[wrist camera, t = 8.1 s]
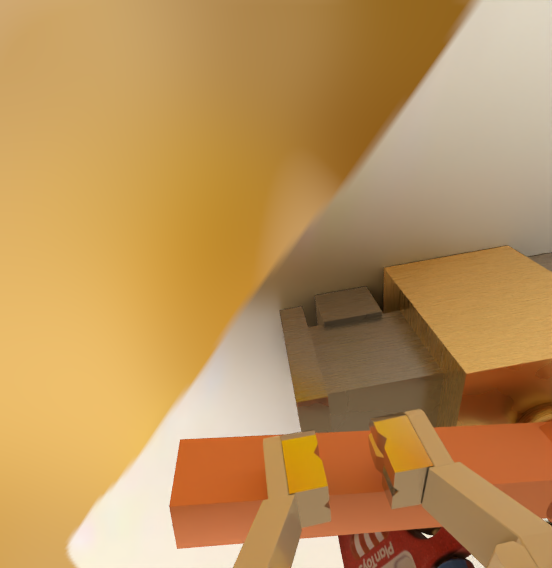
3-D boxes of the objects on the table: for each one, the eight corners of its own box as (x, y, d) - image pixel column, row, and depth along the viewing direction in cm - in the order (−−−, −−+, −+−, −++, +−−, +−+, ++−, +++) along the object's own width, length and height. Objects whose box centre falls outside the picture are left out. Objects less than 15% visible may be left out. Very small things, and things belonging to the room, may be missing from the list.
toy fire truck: (459, 411, 26) (573, 581, 17) (358, 494, 31) (407, 659, 22) (394, 382, 24) (487, 561, 15) (296, 477, 29) (322, 655, 20)
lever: (635, 403, 12) (700, 455, 11) (579, 469, 14) (625, 521, 13) (178, 423, 10) (166, 490, 9) (187, 494, 12) (179, 560, 11)
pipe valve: (615, 226, 19) (864, 321, 11) (577, 324, 23) (746, 446, 15) (275, 287, 19) (300, 424, 11) (291, 376, 23) (318, 525, 15)
